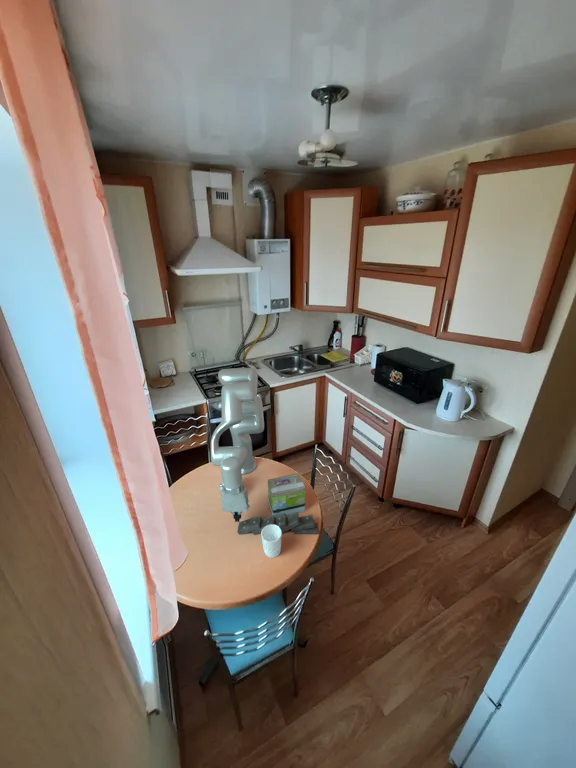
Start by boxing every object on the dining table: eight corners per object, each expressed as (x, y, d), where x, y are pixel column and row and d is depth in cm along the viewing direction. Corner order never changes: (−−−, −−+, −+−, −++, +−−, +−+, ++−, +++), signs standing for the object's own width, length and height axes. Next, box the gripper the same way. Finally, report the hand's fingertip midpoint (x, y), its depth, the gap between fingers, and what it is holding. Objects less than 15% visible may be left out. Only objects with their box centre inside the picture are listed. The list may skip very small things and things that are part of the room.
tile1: (252, 521, 135) (273, 514, 133) (254, 524, 136) (275, 517, 134) (251, 531, 130) (273, 524, 129) (253, 534, 131) (275, 527, 130)
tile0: (238, 521, 135) (259, 515, 134) (240, 524, 136) (261, 518, 135) (237, 531, 131) (259, 525, 129) (239, 534, 132) (261, 528, 130)
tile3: (276, 521, 135) (296, 511, 133) (278, 524, 136) (298, 514, 134) (277, 531, 130) (297, 521, 129) (279, 534, 131) (300, 524, 130)
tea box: (273, 519, 138) (271, 495, 131) (268, 502, 147) (266, 478, 140) (305, 511, 141) (305, 487, 135) (299, 495, 150) (298, 471, 144)
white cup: (271, 537, 130) (270, 521, 125) (286, 548, 125) (285, 531, 121) (258, 551, 124) (256, 534, 120) (273, 563, 120) (272, 546, 115)
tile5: (294, 521, 135) (317, 522, 135) (294, 525, 136) (317, 525, 135) (294, 531, 131) (318, 532, 130) (294, 535, 131) (318, 535, 131)
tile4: (289, 518, 135) (312, 514, 135) (290, 521, 136) (312, 517, 136) (291, 528, 130) (314, 523, 131) (291, 531, 131) (315, 527, 132)
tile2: (263, 522, 135) (284, 513, 133) (265, 525, 135) (286, 516, 134) (263, 532, 130) (285, 523, 129) (265, 535, 131) (287, 526, 130)
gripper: (212, 493, 119) (218, 527, 127) (251, 493, 119) (254, 526, 127) (216, 479, 126) (221, 512, 134) (253, 479, 126) (256, 511, 134)
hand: (237, 519), depth 131 cm, fingers closed
